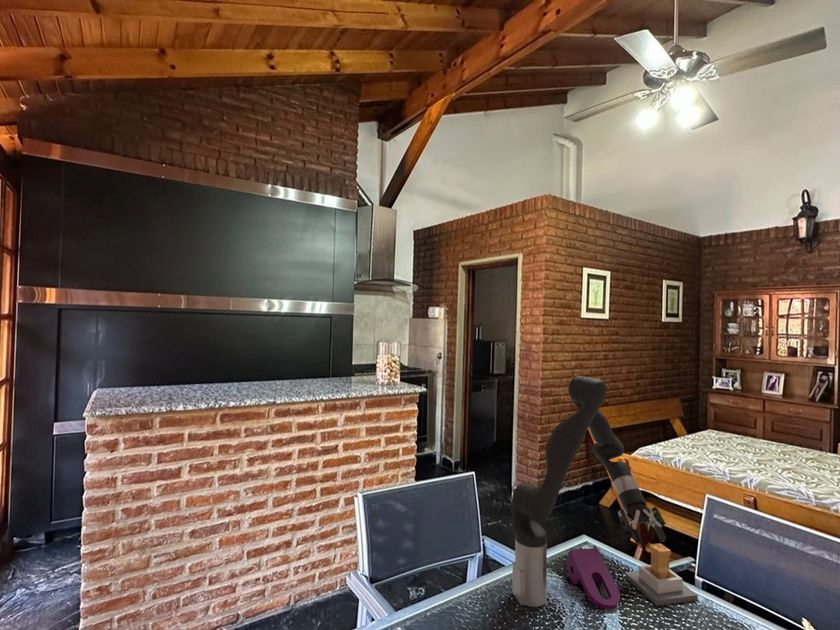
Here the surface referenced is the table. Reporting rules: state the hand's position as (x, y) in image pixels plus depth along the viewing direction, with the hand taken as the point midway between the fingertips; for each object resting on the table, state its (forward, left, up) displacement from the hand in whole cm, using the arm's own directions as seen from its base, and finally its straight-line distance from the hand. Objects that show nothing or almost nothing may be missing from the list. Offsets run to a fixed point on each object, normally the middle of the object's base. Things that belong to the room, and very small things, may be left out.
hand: (652, 542), depth 139 cm
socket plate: (0, -4, -13) cm, 13 cm away
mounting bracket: (-21, -1, -13) cm, 25 cm away
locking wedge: (0, -3, -11) cm, 12 cm away
